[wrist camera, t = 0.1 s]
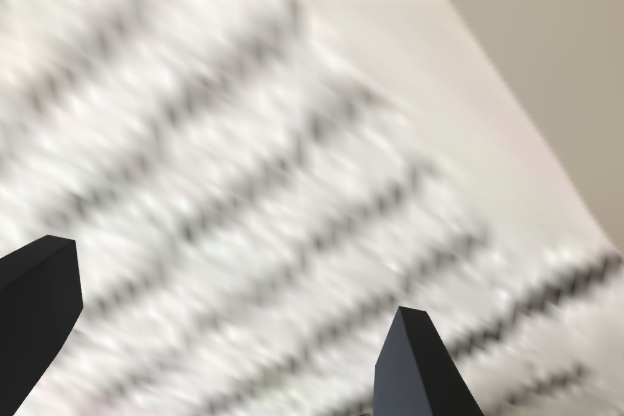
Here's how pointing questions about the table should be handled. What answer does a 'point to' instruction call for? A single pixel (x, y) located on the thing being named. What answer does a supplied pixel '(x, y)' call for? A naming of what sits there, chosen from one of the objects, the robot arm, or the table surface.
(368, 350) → the table surface
